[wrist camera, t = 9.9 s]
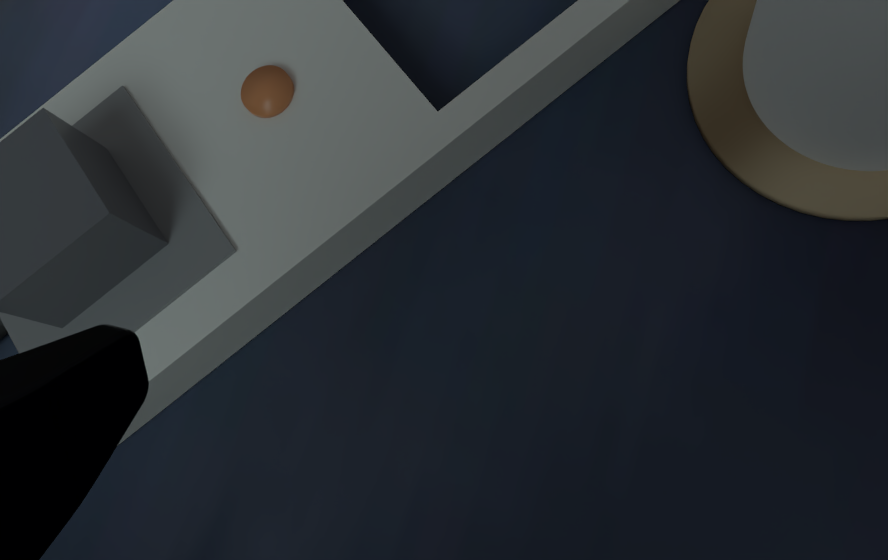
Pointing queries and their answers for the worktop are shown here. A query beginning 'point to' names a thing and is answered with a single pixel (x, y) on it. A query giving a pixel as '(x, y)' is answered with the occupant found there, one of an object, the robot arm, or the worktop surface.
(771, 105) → the can
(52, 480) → the robot arm
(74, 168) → the block
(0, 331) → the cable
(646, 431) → the worktop surface
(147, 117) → the strip dock
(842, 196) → the cork coaster
